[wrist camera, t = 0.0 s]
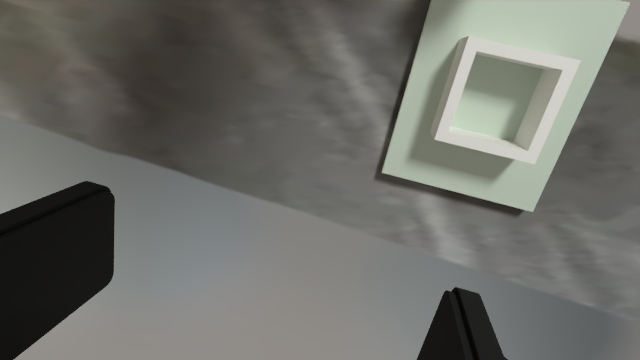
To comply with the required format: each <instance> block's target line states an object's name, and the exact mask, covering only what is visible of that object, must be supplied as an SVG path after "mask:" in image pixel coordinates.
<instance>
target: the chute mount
mask: <svg viewBox="0 0 640 360" xmlns="http://www.w3.org/2000/svg"><path fill="white" fill-rule="evenodd" d="M629 4H630V3H629V2H624V1H619V0H431V1H430V5H429V8H428V12H427V15H426V19H425V22H424V26H423V29H422V33H421V36H420V39H419V43H418V46H417V50H416V53H415V57H414V60H413V64H412V67H411V71H410V74H409V77H408V81H407V84H406V88H405V91H404V95H403V98H402V102H401V105H400V109H399V112H398V115H397V119H396V122H395V126H394V129H393V133H392V136H391V140H390V143H389V147H388V150H387V154H386V157H385V160H384V164H383V167H382V173H385V174H389V175H392V176H396V177H400V178H404V179H408V180H412V181H415V182H419V183H423V184H427V185H431V186H435V187H438V188H442V189H446V190H450V191H454V192H458V193H461V194H465V195H469V196H473V197H477V198H481V199H485V200H488V201H492V202H496V203H500V204H504V205H508V206H511V207H515V208H519V209H523V210H527V211H531V212H533V211H534V208H535V206H536V204H537V202H538V200H539V198H540V196H541V193H542V191H543V189H544V187H545V185H546V183H547V180H548V178H549V176H550V174H551V172H552V170H553V168H554V165H555V163H556V161H557V159H558V157H559V155H560V153H561V150H562V148H563V146H564V144H565V142H566V140H567V138H568V135H569V133H570V131H571V129H572V127H573V125H574V122H575V120H576V118H577V116H578V114H579V112H580V110H581V107H582V105H583V103H584V101H585V99H586V97H587V95H588V92H589V90H590V88H591V86H592V84H593V82H594V79H595V77H596V75H597V73H598V71H599V69H600V67H601V64H602V62H603V60H604V58H605V56H606V54H607V52H608V49H609V47H610V45H611V43H612V41H613V39H614V36H615V34H616V32H617V30H618V28H619V26H620V24H621V21H622V19H623V17H624V15H625V13H626V11H627V8H628V6H629Z"/></svg>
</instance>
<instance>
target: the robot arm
mask: <svg viewBox="0 0 640 360" xmlns="http://www.w3.org/2000/svg"><path fill="white" fill-rule="evenodd" d="M114 204H115V199H114V196H113V194H112V193H111V191H110V189H109V188H108V187H106V186H103V185H99V184H96V183H92V182H88V181H85V182H82V183H79V184H77V185H74V186H71V187H69V188H66V189H64V190H61V191H59V192H56V193H53V194H51V195H49V196H46V197H43V198H41V199H38V200H36V201H33V202H30V203H28V204H25V205H23V206H20V207H18V208H15V209H12V210H10V211H7V212H5V213H2V214H0V360H13V359H15V358H16V357H17V356H18V355H20V354H21V353H22V352H23V351H24V350H26V349H27V348H29V347H30V346H31V345H32V344H34V343H35V342H36V341H37V340H39V339H40V338H41V337H42V336H44V335H45V334H46V333H47V332H49V331H50V330H51V329H52V328H54V327H55V326H56V325H58V324H59V323H60V322H61V321H63V320H64V319H65V318H67V317H68V316H69V315H70V314H71V313H73V312H74V311H75V310H77V309H78V308H79V307H80V306H82V305H83V304H84V303H85V302H87V301H88V300H89V299H90V298H92V297H93V296H94V295H95V294H97V293H98V292H99V291H101V290H102V289H103V288H104V287H106V286H107V285H108V284H109V282H110V281H111V279H112V276H113V272H114ZM417 360H508V359H506V358H505V357H504V356H503V354H502V351H501V348H500V346H499V343H498V341H497V338H496V335H495V333H494V330H493V327H492V325H491V322H490V320H489V317H488V315H487V312H486V309H485V307H484V304H483V302H482V299H481V297H480V295H479V294H478V293H475V292H471V291H468V290H464V289H460V288H457V287H455V288H454V289H453V290H452V292H450V291H445V292H444V294H443V296H442V299H441V301H440V304H439V306H438V309H437V311H436V314H435V316H434V318H433V321H432V323H431V326H430V328H429V331H428V333H427V336H426V338H425V341H424V343H423V346H422V348H421V351H420V353H419V356H418V358H417Z"/></svg>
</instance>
